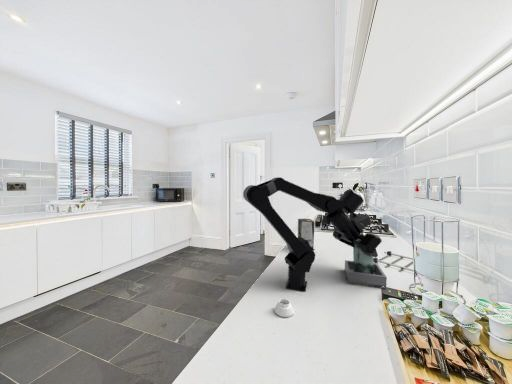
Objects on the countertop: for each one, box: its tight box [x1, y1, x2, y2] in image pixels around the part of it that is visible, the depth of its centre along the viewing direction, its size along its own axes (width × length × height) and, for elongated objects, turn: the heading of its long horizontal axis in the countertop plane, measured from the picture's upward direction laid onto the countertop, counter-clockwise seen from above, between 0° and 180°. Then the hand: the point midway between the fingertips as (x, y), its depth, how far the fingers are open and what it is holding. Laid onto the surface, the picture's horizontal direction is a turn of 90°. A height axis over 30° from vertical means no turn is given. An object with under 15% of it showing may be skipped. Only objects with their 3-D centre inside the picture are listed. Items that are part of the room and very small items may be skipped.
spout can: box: [352, 232, 374, 274], centre depth 76 cm, size 6×6×16 cm
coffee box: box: [297, 218, 315, 249], centre depth 104 cm, size 9×6×16 cm
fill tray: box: [344, 259, 388, 289], centre depth 76 cm, size 12×12×4 cm
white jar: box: [274, 298, 295, 318], centre depth 56 cm, size 5×3×5 cm
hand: (367, 252), depth 76 cm, fingers open, 8 cm apart
